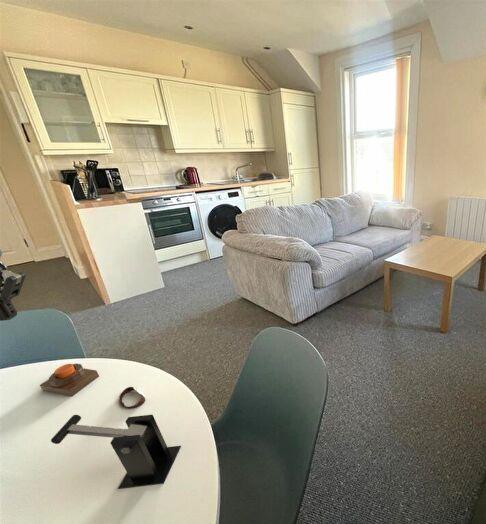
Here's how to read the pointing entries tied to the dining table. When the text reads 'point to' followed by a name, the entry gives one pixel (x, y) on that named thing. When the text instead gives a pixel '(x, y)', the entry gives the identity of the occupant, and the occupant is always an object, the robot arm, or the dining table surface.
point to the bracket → (144, 454)
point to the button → (64, 371)
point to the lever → (97, 430)
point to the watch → (130, 391)
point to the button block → (70, 381)
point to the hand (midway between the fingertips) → (8, 318)
